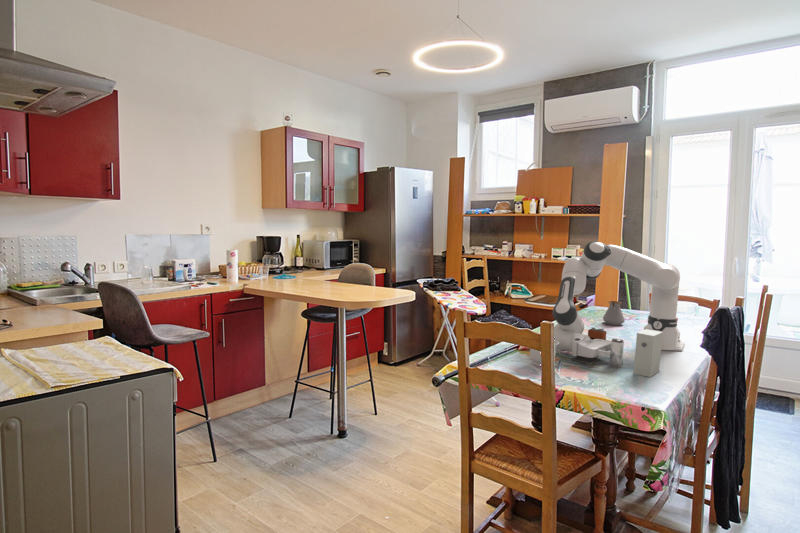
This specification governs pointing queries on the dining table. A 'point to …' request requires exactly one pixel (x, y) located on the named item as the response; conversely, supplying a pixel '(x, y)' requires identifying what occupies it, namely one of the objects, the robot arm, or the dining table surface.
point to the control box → (648, 352)
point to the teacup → (537, 356)
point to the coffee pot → (614, 314)
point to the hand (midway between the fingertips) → (615, 352)
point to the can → (616, 353)
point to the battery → (597, 334)
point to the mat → (585, 359)
